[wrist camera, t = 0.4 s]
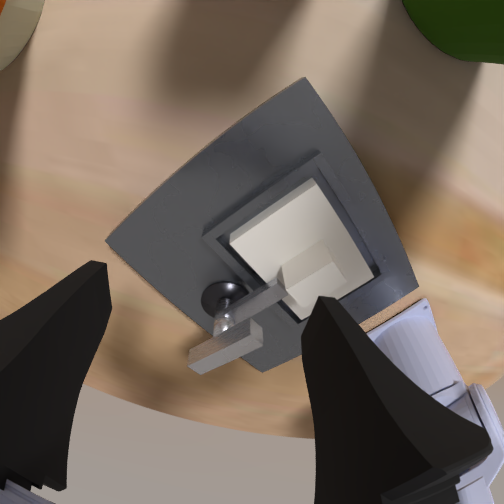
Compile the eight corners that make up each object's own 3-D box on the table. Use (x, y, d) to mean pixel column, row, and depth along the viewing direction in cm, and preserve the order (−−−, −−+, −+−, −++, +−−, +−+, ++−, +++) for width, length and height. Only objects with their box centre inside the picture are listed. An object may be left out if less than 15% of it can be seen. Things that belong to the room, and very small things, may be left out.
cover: (368, 267, 20) (387, 299, 16) (298, 308, 21) (306, 345, 18) (312, 177, 16) (328, 200, 13) (230, 234, 18) (227, 267, 15)
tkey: (285, 279, 19) (295, 330, 15) (206, 325, 21) (201, 375, 17) (273, 265, 19) (281, 316, 15) (193, 315, 21) (185, 365, 17)
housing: (412, 277, 22) (423, 292, 20) (261, 362, 27) (262, 379, 25) (300, 77, 14) (308, 76, 12) (111, 232, 19) (100, 247, 17)
